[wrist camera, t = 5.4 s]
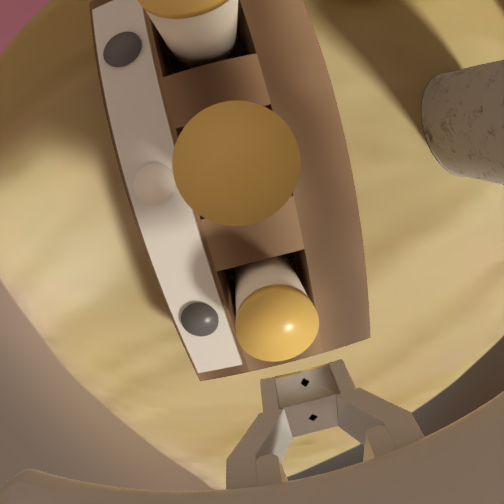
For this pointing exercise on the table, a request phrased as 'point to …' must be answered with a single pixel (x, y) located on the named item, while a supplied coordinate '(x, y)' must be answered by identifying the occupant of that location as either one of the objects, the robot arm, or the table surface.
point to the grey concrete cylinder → (467, 121)
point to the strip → (159, 184)
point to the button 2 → (273, 310)
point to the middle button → (236, 163)
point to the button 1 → (195, 28)
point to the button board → (310, 178)
